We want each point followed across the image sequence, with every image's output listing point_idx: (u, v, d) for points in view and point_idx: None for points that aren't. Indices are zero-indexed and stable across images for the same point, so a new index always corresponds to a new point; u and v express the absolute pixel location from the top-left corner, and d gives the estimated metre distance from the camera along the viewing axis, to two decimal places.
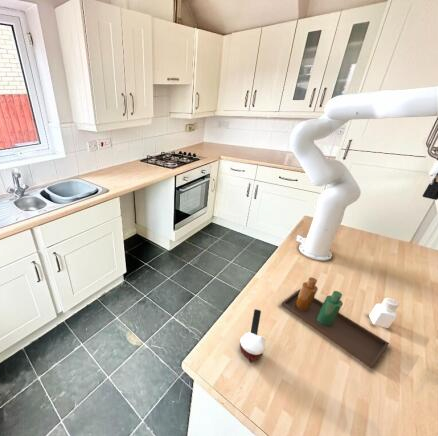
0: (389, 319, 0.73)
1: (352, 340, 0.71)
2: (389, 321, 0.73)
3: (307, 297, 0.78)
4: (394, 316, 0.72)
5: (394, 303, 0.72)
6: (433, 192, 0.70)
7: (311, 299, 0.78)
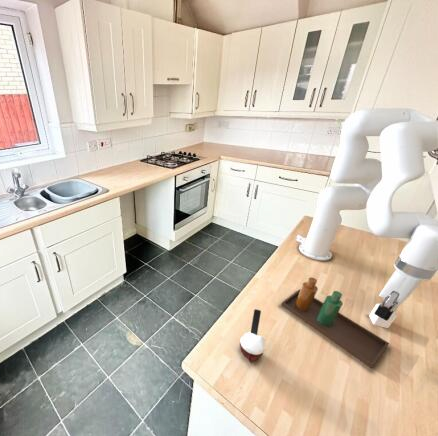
0: (389, 319, 0.73)
1: (352, 340, 0.71)
2: (389, 321, 0.73)
3: (307, 297, 0.78)
4: (394, 316, 0.72)
5: None
6: (383, 314, 0.72)
7: (311, 299, 0.78)
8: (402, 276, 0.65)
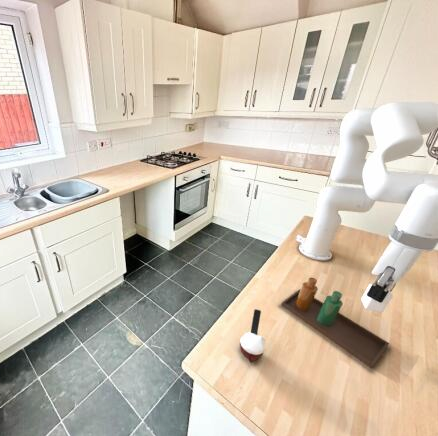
0: (384, 301, 0.63)
1: (352, 340, 0.71)
2: (384, 304, 0.63)
3: (307, 297, 0.78)
4: (390, 297, 0.62)
5: None
6: (376, 294, 0.61)
7: (311, 299, 0.78)
8: (399, 248, 0.55)
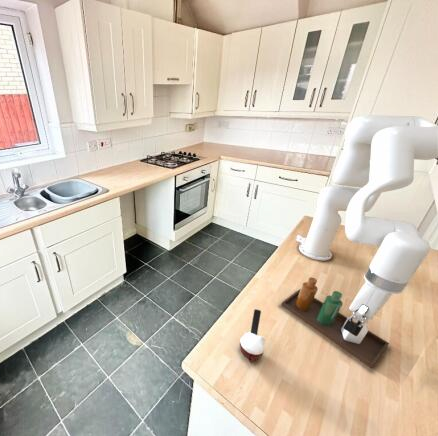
0: (360, 334, 0.68)
1: None
2: (360, 336, 0.69)
3: (307, 297, 0.78)
4: (365, 331, 0.67)
5: None
6: (352, 329, 0.65)
7: (311, 299, 0.78)
8: (371, 289, 0.60)
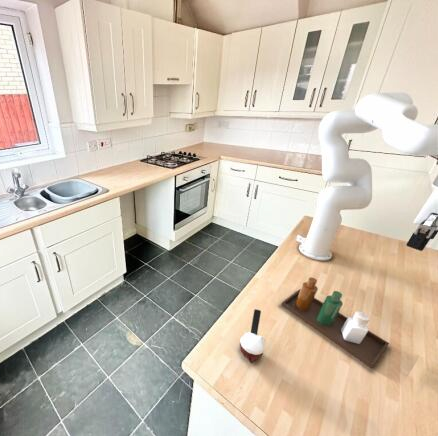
0: (360, 334, 0.68)
1: None
2: (360, 336, 0.69)
3: (307, 297, 0.78)
4: (365, 331, 0.67)
5: (365, 317, 0.67)
6: (417, 242, 0.63)
7: (311, 299, 0.78)
8: None
